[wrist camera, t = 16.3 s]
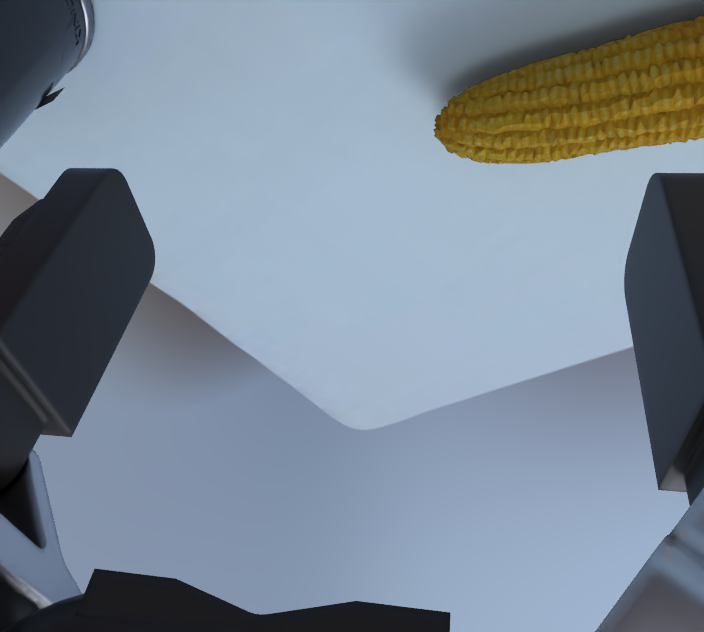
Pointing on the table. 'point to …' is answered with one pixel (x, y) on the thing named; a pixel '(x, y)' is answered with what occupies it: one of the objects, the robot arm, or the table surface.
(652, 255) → the robot arm
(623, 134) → the food
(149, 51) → the table surface
